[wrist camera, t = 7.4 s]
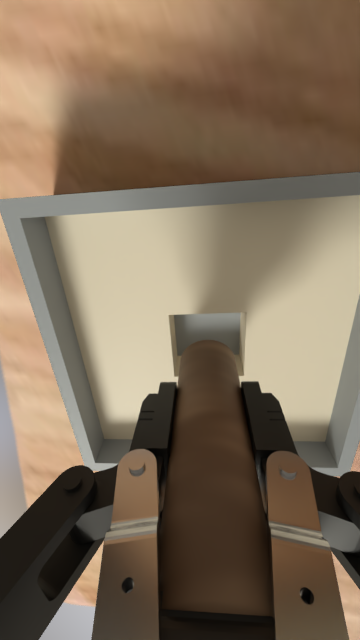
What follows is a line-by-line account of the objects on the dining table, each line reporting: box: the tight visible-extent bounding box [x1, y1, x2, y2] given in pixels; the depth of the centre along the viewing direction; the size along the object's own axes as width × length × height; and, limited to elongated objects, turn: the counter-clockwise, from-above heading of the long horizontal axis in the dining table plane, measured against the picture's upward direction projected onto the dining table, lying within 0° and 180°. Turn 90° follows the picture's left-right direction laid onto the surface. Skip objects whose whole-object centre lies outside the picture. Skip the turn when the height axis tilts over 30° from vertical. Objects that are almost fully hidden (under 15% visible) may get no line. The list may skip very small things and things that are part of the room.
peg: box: [160, 340, 272, 616], centre depth 10 cm, size 3×3×10 cm
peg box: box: [0, 172, 360, 476], centre depth 17 cm, size 18×18×5 cm
